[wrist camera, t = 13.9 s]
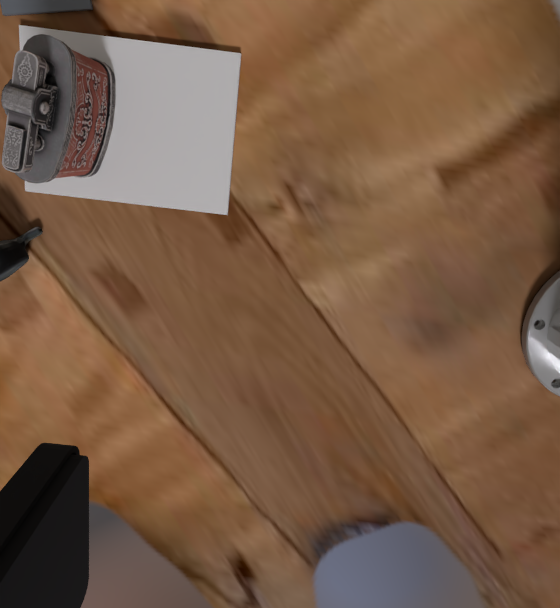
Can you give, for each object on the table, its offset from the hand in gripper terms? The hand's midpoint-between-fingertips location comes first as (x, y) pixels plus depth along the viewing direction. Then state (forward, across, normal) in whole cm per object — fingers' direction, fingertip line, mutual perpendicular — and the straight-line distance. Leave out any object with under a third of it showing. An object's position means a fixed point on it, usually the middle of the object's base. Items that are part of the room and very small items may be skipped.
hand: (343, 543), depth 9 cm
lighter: (+30, +16, -7) cm, 35 cm away
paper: (+30, +13, -7) cm, 34 cm away
